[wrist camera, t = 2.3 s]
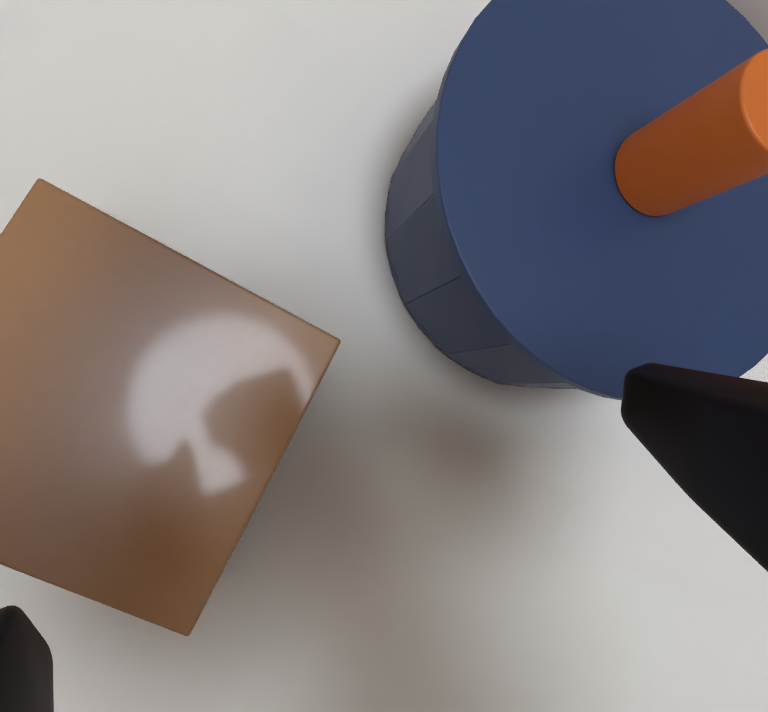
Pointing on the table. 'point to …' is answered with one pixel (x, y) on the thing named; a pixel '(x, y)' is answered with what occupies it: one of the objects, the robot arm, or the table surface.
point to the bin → (444, 277)
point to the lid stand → (136, 409)
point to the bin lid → (610, 184)
